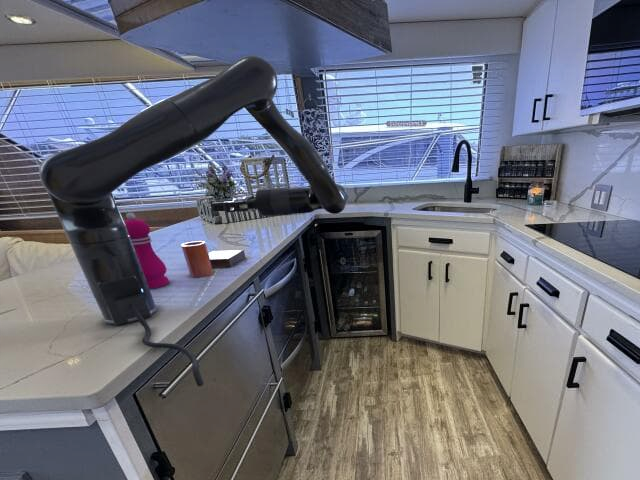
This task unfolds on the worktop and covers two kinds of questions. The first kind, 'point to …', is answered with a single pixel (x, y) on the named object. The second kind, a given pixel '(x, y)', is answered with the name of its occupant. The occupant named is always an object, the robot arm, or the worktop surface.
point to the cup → (197, 258)
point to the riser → (226, 258)
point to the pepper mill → (146, 252)
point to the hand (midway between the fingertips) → (219, 205)
